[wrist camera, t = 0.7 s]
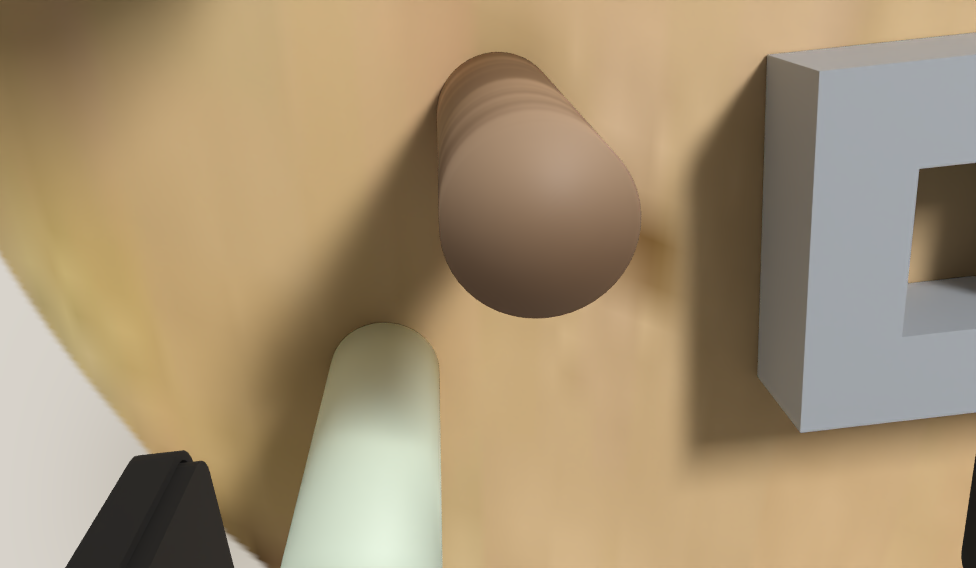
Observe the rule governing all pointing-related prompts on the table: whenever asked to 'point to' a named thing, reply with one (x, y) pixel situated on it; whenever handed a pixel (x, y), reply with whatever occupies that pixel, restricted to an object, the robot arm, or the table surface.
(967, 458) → the table surface
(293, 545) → the sage peg
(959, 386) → the socket block
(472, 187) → the walnut peg
